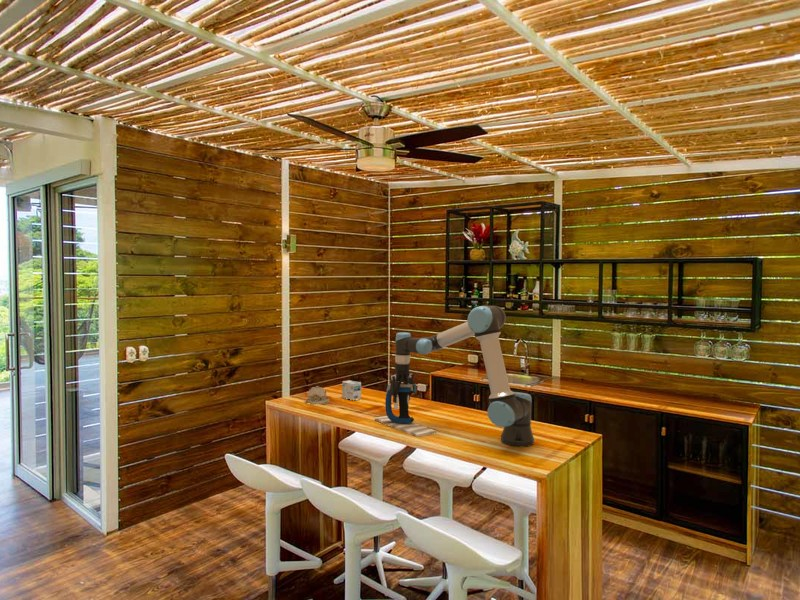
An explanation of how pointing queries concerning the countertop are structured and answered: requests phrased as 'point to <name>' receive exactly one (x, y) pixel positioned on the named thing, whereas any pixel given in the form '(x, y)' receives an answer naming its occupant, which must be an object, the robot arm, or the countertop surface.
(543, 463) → the countertop surface
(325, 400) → the ceramic model
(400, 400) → the handheld scanner
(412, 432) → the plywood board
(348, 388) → the light bulb box
